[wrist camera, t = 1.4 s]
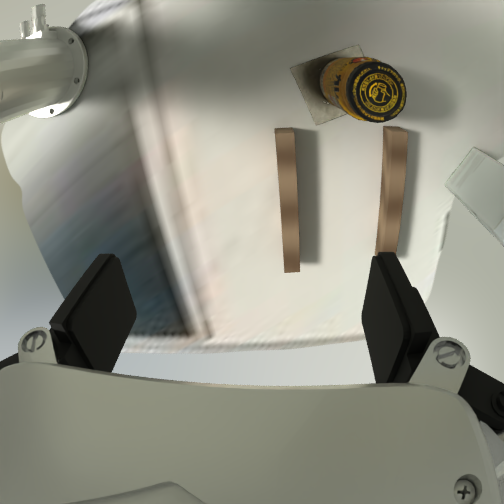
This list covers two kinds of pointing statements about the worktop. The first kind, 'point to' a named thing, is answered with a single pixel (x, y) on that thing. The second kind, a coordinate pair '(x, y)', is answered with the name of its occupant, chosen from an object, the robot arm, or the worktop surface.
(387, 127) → the channel
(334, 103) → the yellow and black cylinder
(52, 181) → the worktop surface
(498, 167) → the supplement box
